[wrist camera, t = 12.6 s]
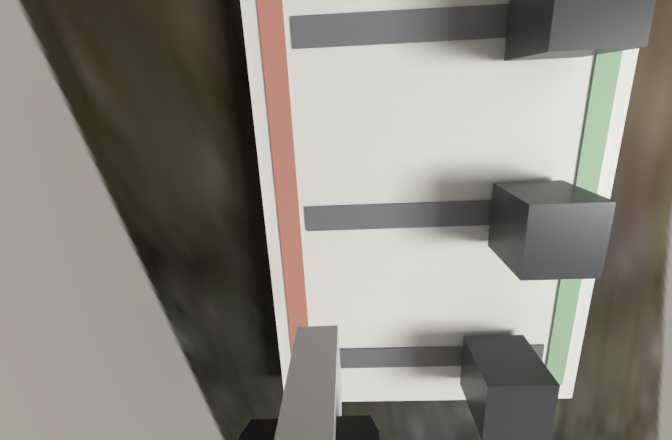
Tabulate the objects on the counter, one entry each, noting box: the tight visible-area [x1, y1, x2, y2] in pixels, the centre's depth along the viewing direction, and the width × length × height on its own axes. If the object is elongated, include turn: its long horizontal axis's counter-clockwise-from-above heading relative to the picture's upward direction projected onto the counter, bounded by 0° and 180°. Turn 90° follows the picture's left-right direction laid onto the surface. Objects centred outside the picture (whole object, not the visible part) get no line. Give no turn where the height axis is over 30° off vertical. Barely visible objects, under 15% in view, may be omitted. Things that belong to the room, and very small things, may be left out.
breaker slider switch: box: [460, 335, 560, 440], centre depth 18 cm, size 3×3×4 cm
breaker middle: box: [488, 180, 616, 280], centre depth 15 cm, size 3×3×4 cm
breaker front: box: [504, 0, 656, 61], centre depth 13 cm, size 3×3×4 cm
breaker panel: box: [240, 0, 639, 402], centre depth 19 cm, size 22×16×2 cm
